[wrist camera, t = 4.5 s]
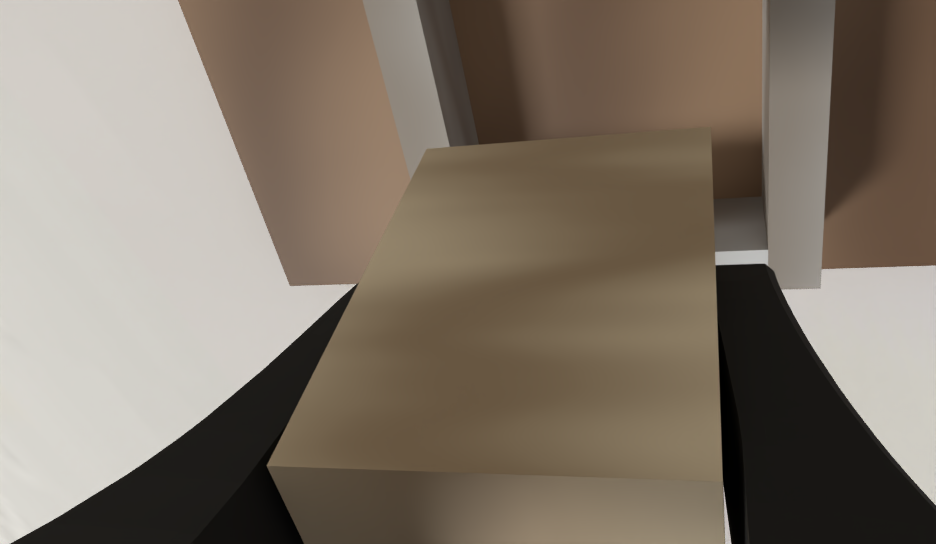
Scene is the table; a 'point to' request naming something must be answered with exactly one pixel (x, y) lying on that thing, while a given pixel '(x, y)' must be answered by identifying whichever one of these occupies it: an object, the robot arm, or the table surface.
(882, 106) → the socket stand
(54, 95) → the table surface
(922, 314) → the table surface
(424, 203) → the peg
